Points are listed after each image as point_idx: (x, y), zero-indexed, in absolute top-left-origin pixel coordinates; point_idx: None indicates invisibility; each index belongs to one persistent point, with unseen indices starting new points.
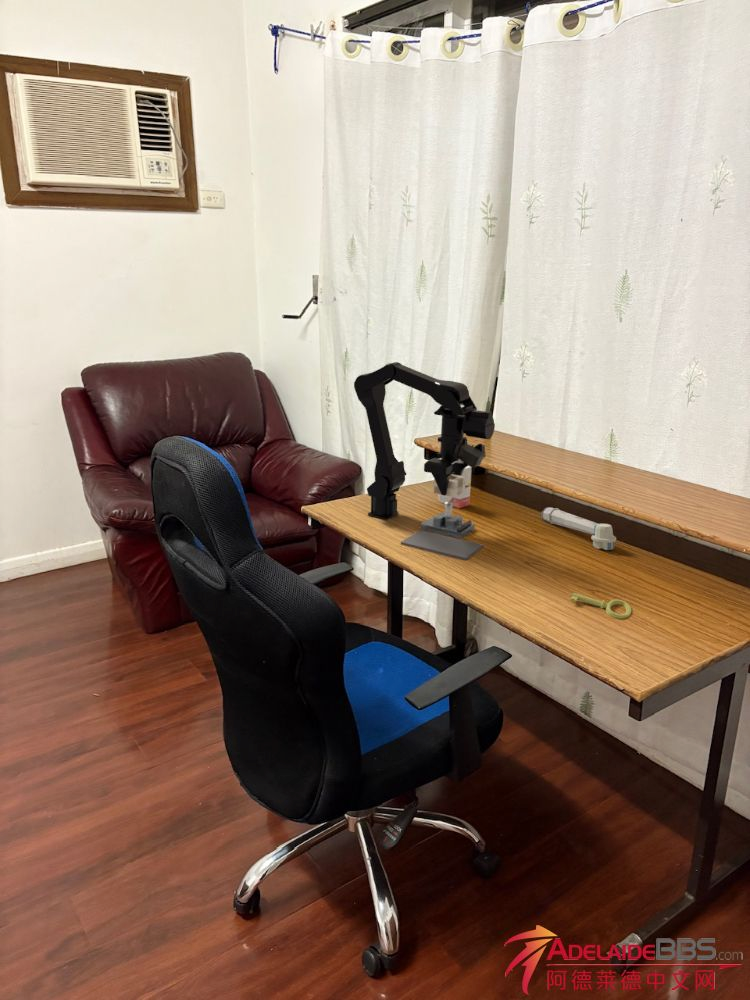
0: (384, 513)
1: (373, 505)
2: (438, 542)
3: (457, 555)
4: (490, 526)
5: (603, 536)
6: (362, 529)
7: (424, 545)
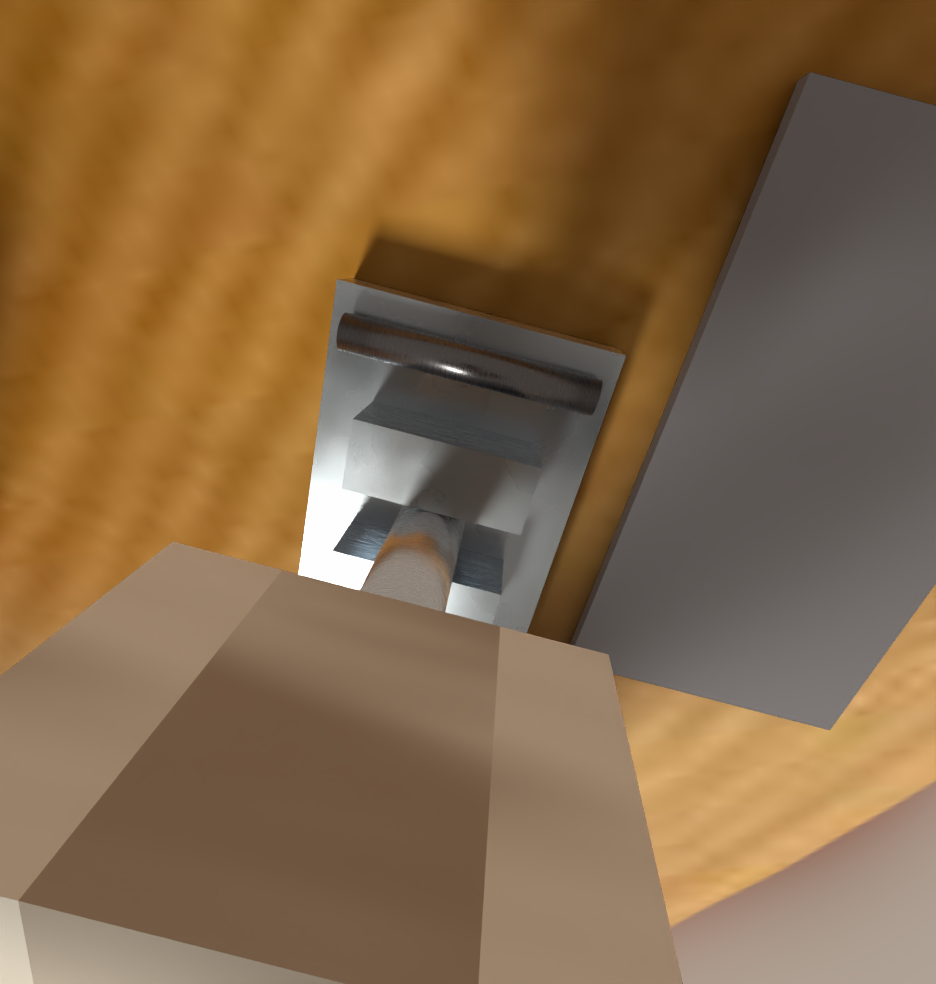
0: None
1: None
2: (805, 505)
3: None
4: (205, 134)
5: None
6: None
7: (886, 588)
